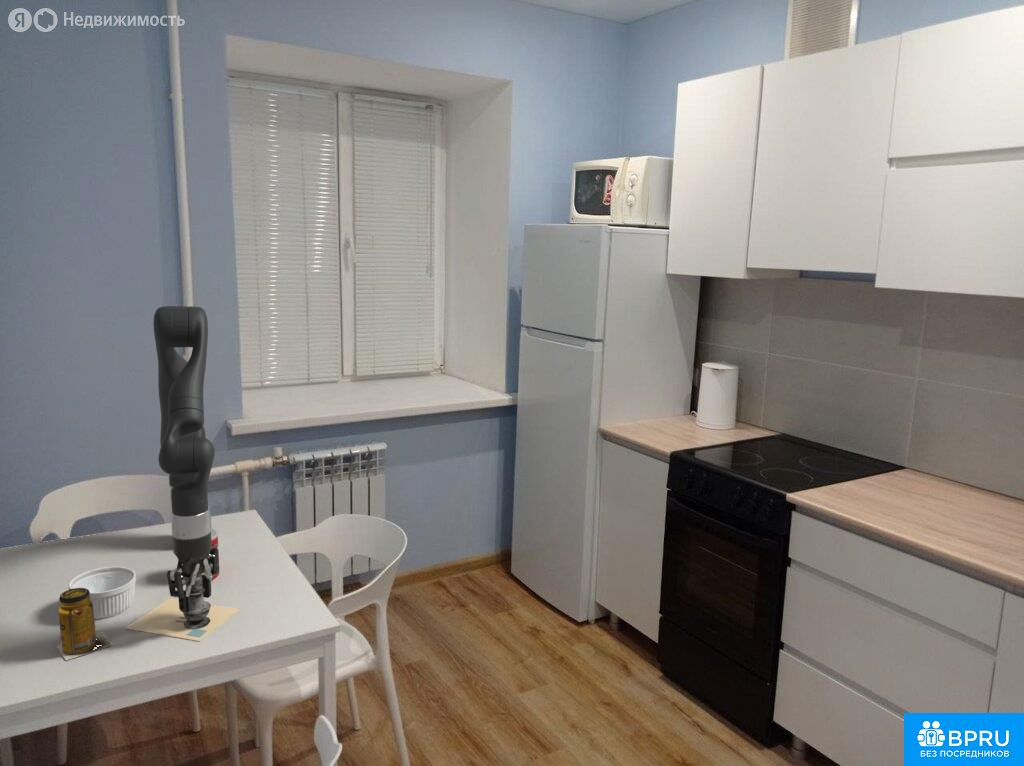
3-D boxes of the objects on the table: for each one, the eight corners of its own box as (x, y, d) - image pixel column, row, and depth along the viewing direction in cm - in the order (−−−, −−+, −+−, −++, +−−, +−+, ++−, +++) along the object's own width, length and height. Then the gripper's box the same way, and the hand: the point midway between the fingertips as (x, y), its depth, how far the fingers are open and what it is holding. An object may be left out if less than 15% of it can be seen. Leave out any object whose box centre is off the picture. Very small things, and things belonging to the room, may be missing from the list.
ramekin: (146, 609, 168) (144, 580, 167) (80, 629, 159) (78, 599, 158) (127, 588, 178) (124, 561, 176) (64, 606, 169) (61, 577, 167)
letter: (170, 598, 173) (170, 597, 173) (239, 609, 169) (239, 608, 169) (125, 628, 160) (125, 627, 160) (199, 641, 156) (199, 640, 156)
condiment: (56, 646, 153) (50, 591, 150) (102, 632, 158) (97, 579, 156) (65, 661, 147) (60, 605, 145) (112, 646, 153) (108, 592, 151)
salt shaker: (201, 631, 159) (198, 578, 157) (176, 627, 160) (173, 575, 158) (217, 617, 165) (215, 566, 163) (193, 614, 166) (190, 563, 164)
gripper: (184, 546, 151) (189, 622, 154) (227, 520, 164) (231, 591, 168) (152, 541, 152) (157, 617, 156) (197, 516, 166) (201, 586, 169)
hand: (196, 603), depth 162 cm, fingers open, 6 cm apart
